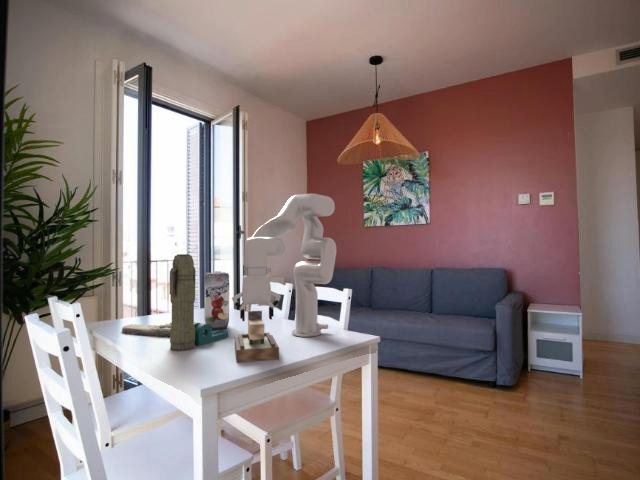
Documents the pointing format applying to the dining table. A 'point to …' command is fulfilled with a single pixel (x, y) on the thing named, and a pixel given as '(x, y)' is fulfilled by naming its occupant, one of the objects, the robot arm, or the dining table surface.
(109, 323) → the dining table surface
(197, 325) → the bracket
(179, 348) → the thermos
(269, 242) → the robot arm
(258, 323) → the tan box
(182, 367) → the dining table surface
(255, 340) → the dock
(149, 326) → the long grey stone
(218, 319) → the juice carton
